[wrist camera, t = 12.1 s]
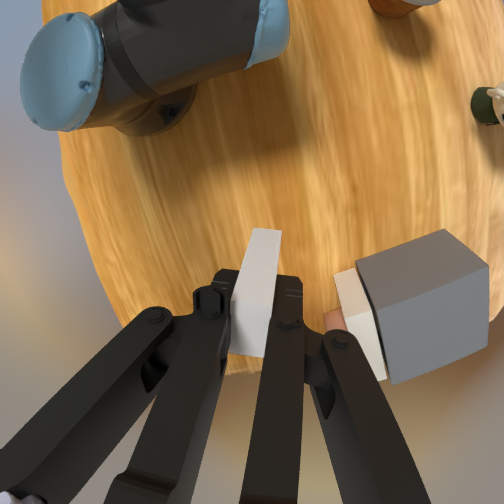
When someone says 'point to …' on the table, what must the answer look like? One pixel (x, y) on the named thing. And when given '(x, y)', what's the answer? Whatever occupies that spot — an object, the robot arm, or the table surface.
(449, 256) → the block
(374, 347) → the white drawer
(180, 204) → the table surface
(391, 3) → the disposable coffee cup
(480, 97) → the character mug
